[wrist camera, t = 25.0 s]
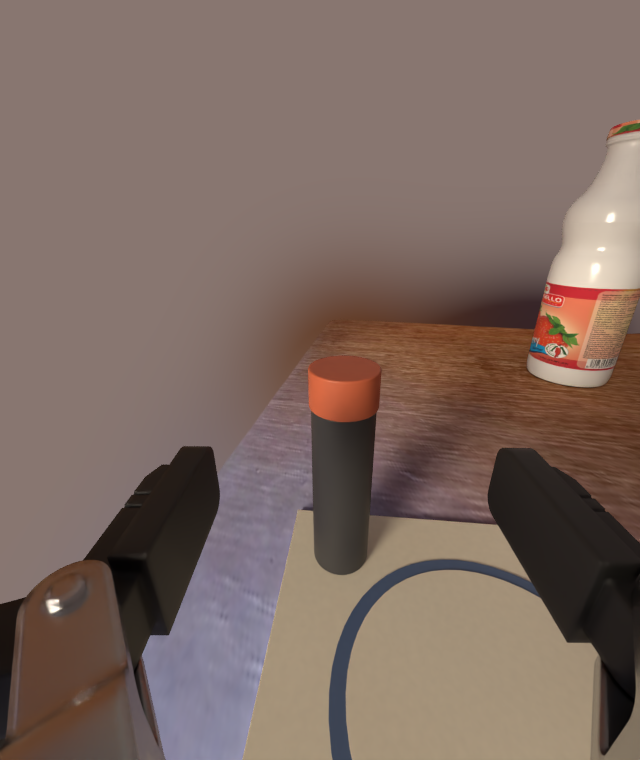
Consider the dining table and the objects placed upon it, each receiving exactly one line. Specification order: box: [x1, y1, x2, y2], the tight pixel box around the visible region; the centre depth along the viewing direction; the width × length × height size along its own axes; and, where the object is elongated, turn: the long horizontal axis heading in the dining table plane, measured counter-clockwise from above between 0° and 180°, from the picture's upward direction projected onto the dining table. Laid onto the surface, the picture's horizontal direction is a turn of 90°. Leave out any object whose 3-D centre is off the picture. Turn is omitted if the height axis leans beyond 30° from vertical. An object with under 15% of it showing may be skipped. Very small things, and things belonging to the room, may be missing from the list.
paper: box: [243, 510, 598, 760], centre depth 14 cm, size 20×20×1 cm
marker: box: [308, 356, 381, 575], centre depth 18 cm, size 3×3×12 cm
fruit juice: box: [527, 120, 640, 387], centre depth 40 cm, size 9×9×28 cm
